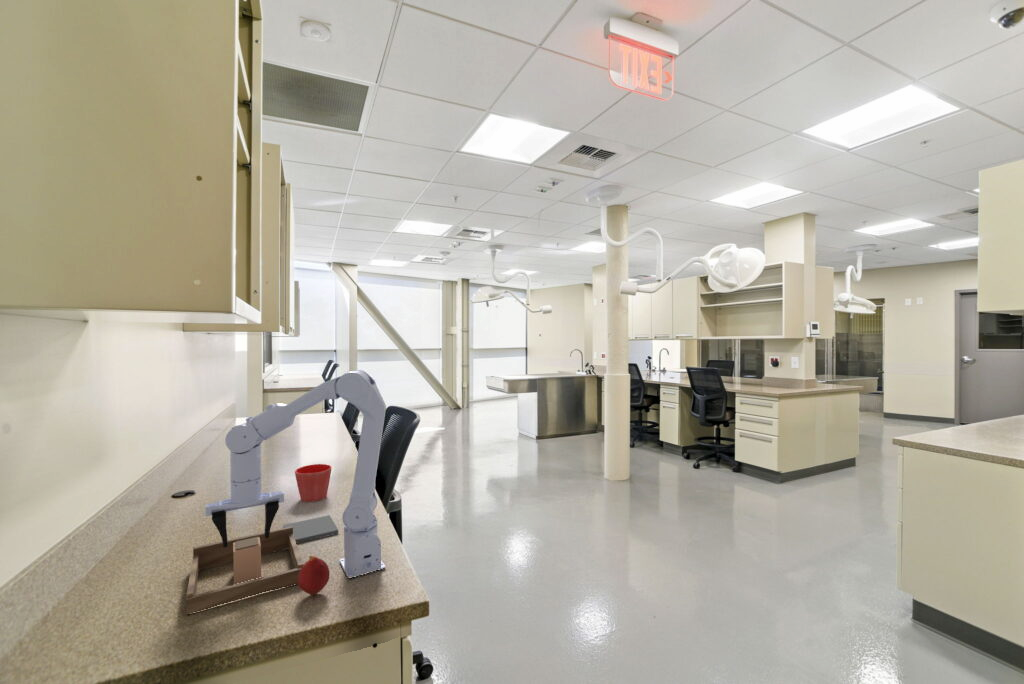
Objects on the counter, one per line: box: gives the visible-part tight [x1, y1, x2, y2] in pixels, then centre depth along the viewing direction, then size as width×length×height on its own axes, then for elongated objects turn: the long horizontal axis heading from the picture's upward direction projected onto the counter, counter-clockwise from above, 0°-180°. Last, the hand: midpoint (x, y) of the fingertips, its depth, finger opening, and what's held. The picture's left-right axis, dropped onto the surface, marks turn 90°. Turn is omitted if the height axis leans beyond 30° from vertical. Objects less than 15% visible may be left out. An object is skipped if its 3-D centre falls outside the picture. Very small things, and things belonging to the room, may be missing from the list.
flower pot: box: [294, 463, 332, 503], centre depth 143 cm, size 11×11×10 cm
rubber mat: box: [282, 514, 339, 544], centre depth 117 cm, size 12×12×1 cm
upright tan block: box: [232, 537, 262, 585], centre depth 95 cm, size 5×5×7 cm
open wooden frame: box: [185, 526, 304, 616], centre depth 95 cm, size 20×20×5 cm
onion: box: [297, 554, 330, 596], centre depth 88 cm, size 6×6×8 cm
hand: (246, 540), depth 95 cm, fingers open, 7 cm apart
